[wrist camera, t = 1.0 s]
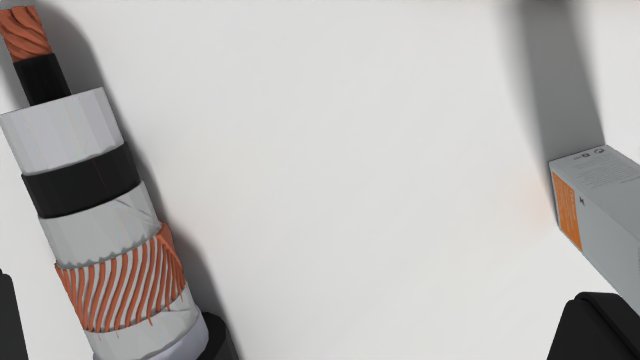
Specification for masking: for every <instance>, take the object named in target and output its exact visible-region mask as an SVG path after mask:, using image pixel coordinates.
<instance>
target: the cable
mask: <svg viewBox="0 0 640 360" xmlns="http://www.w3.org/2000/svg"><path fill="white" fill-rule="evenodd" d="M0 33H1V35H2V36H3V37H4V41H5V43H6V45H7V48H8V50H9V51H10V55H11V57H12V60H13V62H14V63H13V65H14V67H15V70H16V72H17V75H18V77H19V79H20V82H21V84H22V87H23V89H24V92H25V94H26V96H27V99H28V101H29V104H30V106H29V107H25V108H22V109H18V110H15V111H11V112H8V113H4V114H1V115H0V126H1V128H2V131H3V133H4V135H5V137H6V139H7V141H8V143H9V146H10V148H11V150H12V152H13V154H14V156H15V159H16V161H17V163H18V165H19V167H20V169H21V171H22V174H21V177H22V179H23V181H24V184H25V186H26V188H27V190H28V193H29V195H30V197H31V199H32V202H33V204H34V206H35V208H36V210H37V213H38V219H39V221H40V224H41V226H42V228H43V230H44V233H45V235H46V237H47V239H48V242H49V244H50V246H51V249H52V251H53V253H54V255H55V258H56V262H57V263H55V264H54V265H55V269H56V271H57V273H58V275H59V277H60V279H61V281H62V283H63V286H64V288H65V290H66V292H67V293H68V296H69V299H70V301H71V303H72V305H73V306H74V309H75V312H76V314H77V316H78V317H79V320H80V323H81V325H82V327H83V330H84V332H85V334H86V336H87V339H88V341H89V343H90V346H91V348H92V350H93V352H94V354H93V360H238V357H237V354H236V351H235V349H234V346H233V343H232V340H231V338H230V335H229V332H228V329H227V327H226V324H225V323H224V322H223V321H222V319H221V318H220V317H218V316H216V315H213V314H211V313H208V312H201V311H200V309H199V307H198V306H197V305H196V304H195V303H194V301H193V298H192V295H191V293H190V290H189V287H188V284H187V281H186V280H185V277H184V274H183V268H182V265H181V263H180V261H179V258H178V256H177V254H176V252H175V248H174V244H173V240H172V236H171V231H170V229H169V228H168V226H167V225H166V224H164V223H163V222H162V221H161V220H160V221H158V219H157V216H156V213H155V211H154V208H153V205H152V203H151V200H150V197H149V194H148V192H147V189H146V186H145V184H144V181H143V180H142V179H141V178H139V175H138V172H137V170H136V167H135V164H134V161H133V159H132V156H131V153H130V151H129V148H128V145H127V142H125V141H123V138H122V136H121V133H120V130H119V128H118V125H117V123H116V120H115V117H114V115H113V112H112V110H111V107H110V104H109V102H108V99H107V97H106V94H105V91H104V89H103V87H99V88H95V89H91V90H88V91H84V92H80V93H76V94H73V95H71V93H70V90H69V88H68V85H67V83H66V80H65V78H64V76H63V73H62V71H61V68H60V66H59V63H58V61H57V58H56V56H55V54H54V53H52V50H51V47H50V45H49V44H48V43H47V37H46V34H45V32H44V30H43V29H42V24H41V21H40V19H39V17H38V14H37V12H36V10H35V8H34V6H26V7H24V6H19V7H14V8H11V10H10V9H6V10H1V11H0Z"/></svg>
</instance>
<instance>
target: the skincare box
mask: <svg viewBox="0 0 640 360" xmlns="http://www.w3.org/2000/svg"><path fill="white" fill-rule="evenodd" d="M549 167H550V171H551V177H552V183H553V189H554V194H555V201H556V208H557V216H558V223H559V229H560V231H561V232H562V233H563V234H564V235H565V236H566V237H567V238H568V239H569V240H570V241H571V243H572V244H573V245H574V246H575V247H576V248H577V249H578V250H579V251H580V252H581V253H582V254H583V256H584V257H585V258H586V259H587V260H588V261H589V262H590V263H591V264H592V265H593V266H594V268H595V269H596V270H597V271H598V272H599V273H600V274H601V275H602V276H603V277H604V278H605V279H606V280H607V282H608V283H609V284H610V285H611V286H612V287H613V288H614V289H615V290H616V291H617V292H618V293H619V294H620V296H621V297H622V298H623V299H624V300H625V301H626V302H627V303H628V304H629V305H630V306H631V307H632V308H633V310H634V311H635V312H636V313H637V314H638V315H639V316H640V165H639V164H637V163H636V162H634V161H633V160H631V159H629V158H628V157H626V156H625V155H623V154H621V153H620V152H618V151H617V150H615V149H613V148H612V147H610V146H609V145H602V146H599V147H596V148H592V149H589V150H586V151H583V152H579V153H576V154H573V155H570V156H566V157H563V158H560V159H556V160H553V161H550V162H549Z"/></svg>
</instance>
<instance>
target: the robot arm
mask: <svg viewBox="0 0 640 360" xmlns="http://www.w3.org/2000/svg"><path fill="white" fill-rule="evenodd" d="M0 360H29V359H28V354H27V350H26V345H25V340H24V335H23V330H22V325H21V320H20V315H19V311H18V306H17V301H16V296H15V291H14V286H13V282H12V279H11V277H10V276H9V275H7V274H3V273H2V270H1V269H0ZM547 360H640V316H639V315H638V314H637V313H636V312H635V311H634V310H633V309H632V308H631V307H630V305H629V304H628V303H627V302H626V301H625V300H624V299H623V298H622V297H621V296H619V295H618V294H614V293H600V292H581V293H579V294H577V295H576V296H575V298H574V300H569V301H568V302H567V303H566V305H565V307H564V310H563V313H562V316H561V319H560V322H559V325H558V328H557V331H556V334H555V337H554V339H553V342H552V345H551V348H550V351H549V354H548V357H547Z"/></svg>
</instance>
